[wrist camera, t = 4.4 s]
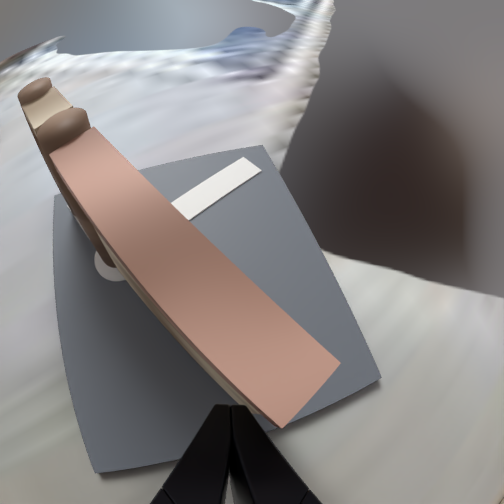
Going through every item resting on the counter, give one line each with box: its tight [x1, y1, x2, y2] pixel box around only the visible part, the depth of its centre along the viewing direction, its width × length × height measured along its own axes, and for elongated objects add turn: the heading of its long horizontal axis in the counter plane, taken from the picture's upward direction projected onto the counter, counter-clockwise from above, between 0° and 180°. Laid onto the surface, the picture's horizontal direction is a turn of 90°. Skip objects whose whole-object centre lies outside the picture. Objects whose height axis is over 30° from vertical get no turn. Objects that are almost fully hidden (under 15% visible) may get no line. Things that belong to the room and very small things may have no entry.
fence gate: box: [37, 108, 341, 428], centre depth 11 cm, size 12×2×9 cm, turn 45°
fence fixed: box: [18, 77, 76, 216], centre depth 13 cm, size 4×2×9 cm, turn 45°
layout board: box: [53, 145, 382, 473], centre depth 17 cm, size 18×16×1 cm
